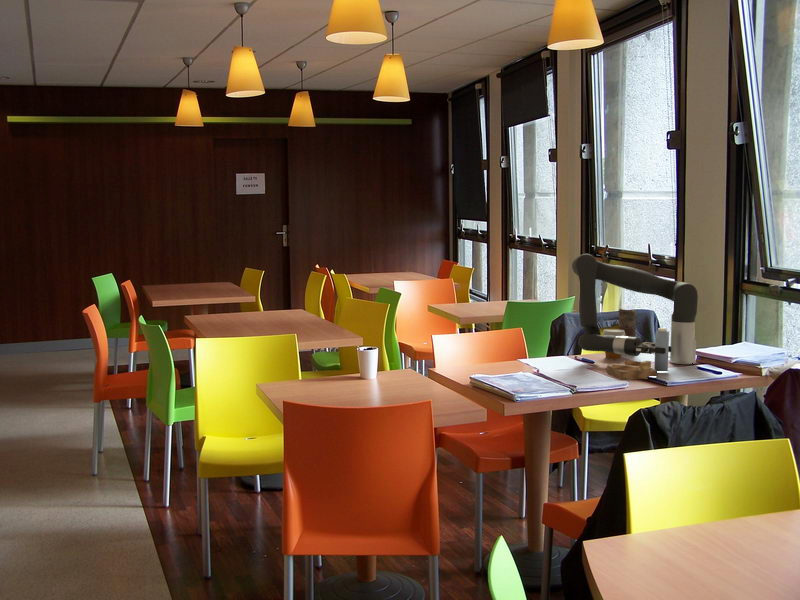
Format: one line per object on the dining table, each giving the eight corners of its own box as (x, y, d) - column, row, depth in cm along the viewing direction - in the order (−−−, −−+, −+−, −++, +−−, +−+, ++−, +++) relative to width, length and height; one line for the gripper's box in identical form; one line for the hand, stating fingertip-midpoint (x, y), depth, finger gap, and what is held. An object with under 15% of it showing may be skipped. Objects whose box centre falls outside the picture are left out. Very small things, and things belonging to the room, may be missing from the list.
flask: (664, 371, 326) (665, 327, 324) (669, 373, 321) (671, 329, 319) (652, 371, 325) (653, 327, 324) (657, 373, 320) (659, 329, 319)
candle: (614, 353, 369) (615, 308, 367) (627, 352, 372) (629, 307, 370) (625, 355, 362) (626, 310, 360) (638, 354, 365) (640, 309, 363)
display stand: (642, 371, 325) (643, 356, 324) (659, 379, 310) (660, 363, 309) (604, 372, 323) (605, 357, 322) (619, 379, 308) (620, 363, 307)
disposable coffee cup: (622, 356, 360) (623, 329, 359) (626, 360, 351) (627, 332, 350) (600, 356, 361) (601, 328, 360) (603, 359, 352) (604, 331, 351)
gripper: (619, 338, 326) (660, 342, 315) (635, 334, 337) (676, 338, 325) (618, 357, 326) (660, 362, 315) (634, 352, 337) (675, 357, 326)
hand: (668, 350), depth 320 cm, fingers closed on flask, 5 cm apart
